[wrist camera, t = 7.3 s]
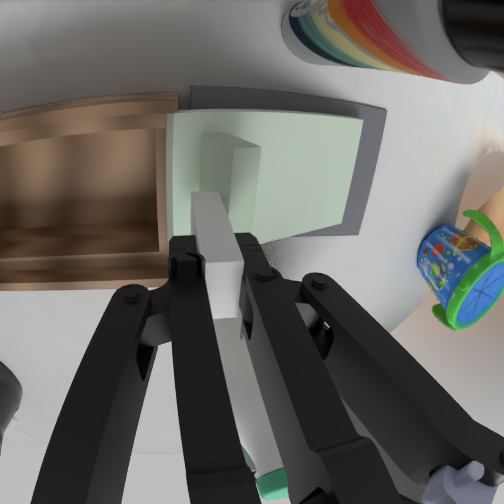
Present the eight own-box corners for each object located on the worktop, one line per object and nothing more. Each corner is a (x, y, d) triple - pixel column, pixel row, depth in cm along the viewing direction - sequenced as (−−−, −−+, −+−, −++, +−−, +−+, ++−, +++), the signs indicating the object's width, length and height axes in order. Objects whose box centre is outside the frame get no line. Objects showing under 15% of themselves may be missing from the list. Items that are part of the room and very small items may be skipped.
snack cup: (441, 288, 41) (481, 332, 33) (390, 300, 39) (431, 355, 31) (476, 194, 33) (531, 233, 24) (424, 192, 31) (488, 240, 22)
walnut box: (-2, 243, 22) (-33, 290, 17) (-25, 120, 16) (-74, 143, 10) (175, 234, 27) (178, 286, 21) (177, 92, 20) (178, 100, 15)
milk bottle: (184, 306, 31) (216, 505, 15) (247, 264, 30) (325, 468, 14) (228, 341, 36) (272, 507, 19) (284, 307, 35) (358, 473, 18)
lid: (168, 257, 21) (198, 299, 18) (166, 110, 16) (202, 123, 13) (332, 217, 29) (370, 241, 26) (352, 116, 24) (398, 131, 21)
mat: (187, 238, 27) (187, 240, 27) (191, 85, 20) (191, 86, 20) (357, 234, 31) (358, 235, 31) (385, 110, 24) (387, 110, 24)
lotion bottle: (293, -10, 17) (527, -78, 1) (354, 19, 19) (590, 34, 3) (270, 49, 20) (519, 52, 4) (333, 75, 22) (572, 149, 6)
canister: (367, 393, 54) (440, 538, 26) (308, 409, 51) (375, 574, 23) (391, 352, 47) (487, 520, 19) (324, 370, 44) (416, 571, 16)
